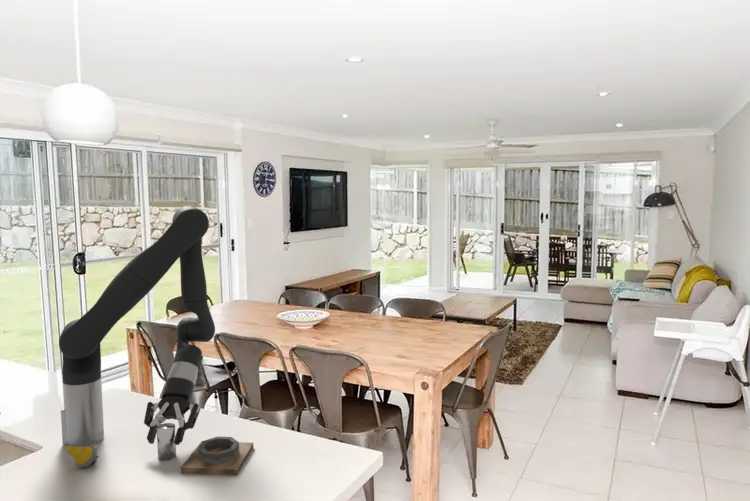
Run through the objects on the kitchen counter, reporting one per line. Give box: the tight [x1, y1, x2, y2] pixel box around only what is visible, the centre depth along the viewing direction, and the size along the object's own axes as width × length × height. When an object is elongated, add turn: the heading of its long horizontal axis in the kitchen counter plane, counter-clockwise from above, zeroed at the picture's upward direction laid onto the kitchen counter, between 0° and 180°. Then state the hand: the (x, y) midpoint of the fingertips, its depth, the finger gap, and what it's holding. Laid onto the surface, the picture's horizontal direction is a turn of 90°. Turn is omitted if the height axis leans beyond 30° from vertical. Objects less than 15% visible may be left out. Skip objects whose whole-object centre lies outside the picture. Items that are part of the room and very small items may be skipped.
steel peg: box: [156, 422, 177, 461], centre depth 141 cm, size 4×4×8 cm
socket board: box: [180, 436, 254, 476], centre depth 139 cm, size 14×14×4 cm
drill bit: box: [64, 445, 100, 469], centre depth 135 cm, size 5×5×10 cm
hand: (163, 443), depth 139 cm, fingers open, 6 cm apart
